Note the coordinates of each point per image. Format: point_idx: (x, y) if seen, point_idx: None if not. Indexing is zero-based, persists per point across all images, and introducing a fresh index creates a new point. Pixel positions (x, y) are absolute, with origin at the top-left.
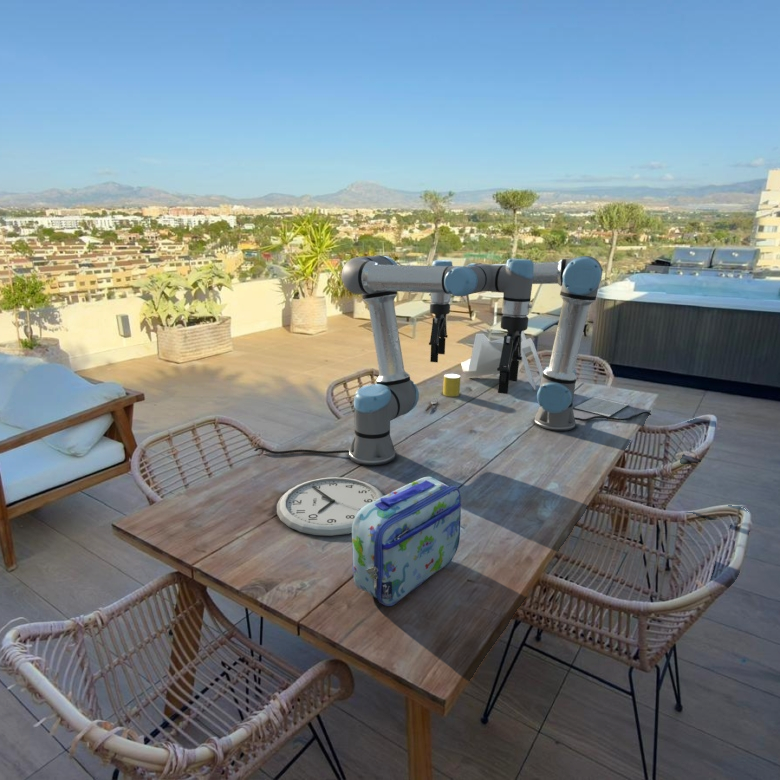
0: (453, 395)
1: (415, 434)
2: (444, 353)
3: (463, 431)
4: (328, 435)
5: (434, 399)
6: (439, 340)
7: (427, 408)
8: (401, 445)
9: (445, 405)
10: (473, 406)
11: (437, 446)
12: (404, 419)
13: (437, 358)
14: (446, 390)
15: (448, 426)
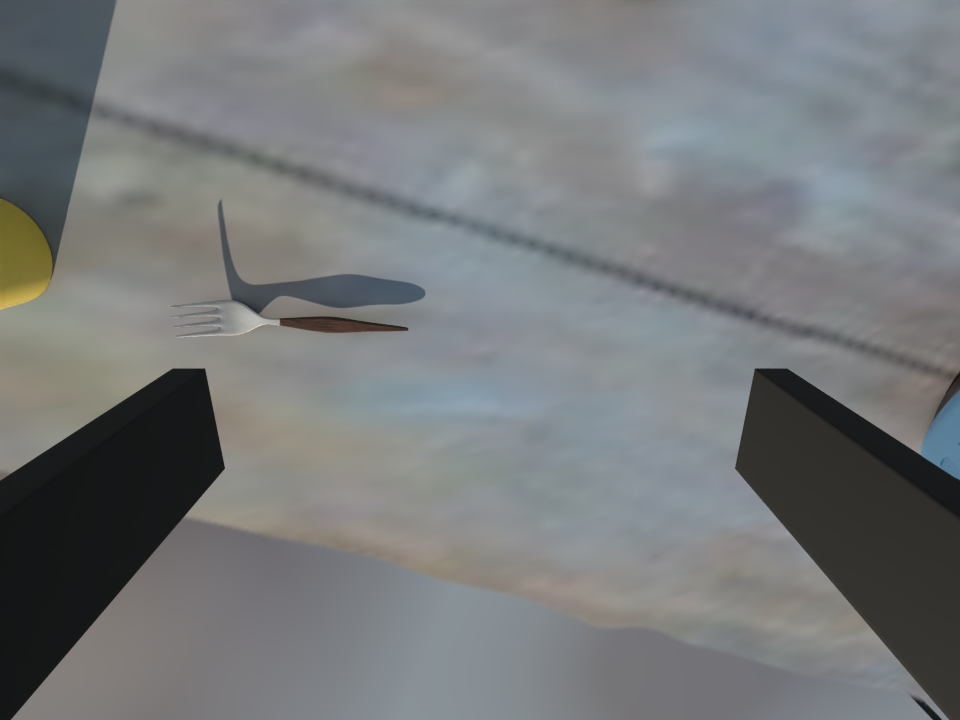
0: (31, 226)
1: (749, 302)
2: (191, 374)
3: (653, 39)
4: (813, 620)
5: (202, 323)
6: (45, 642)
7: (371, 328)
8: (900, 331)
9: (235, 242)
10: (159, 48)
11: (903, 153)
12: (551, 403)
13: (828, 397)
14: (21, 281)
15: (592, 151)
